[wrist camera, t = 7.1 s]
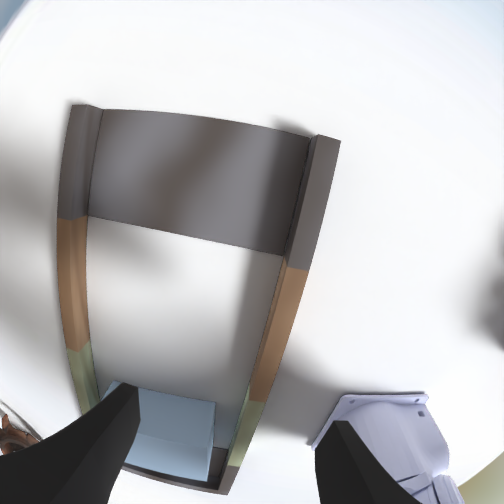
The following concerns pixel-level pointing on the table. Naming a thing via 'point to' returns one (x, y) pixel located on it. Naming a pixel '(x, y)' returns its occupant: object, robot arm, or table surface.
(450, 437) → the table surface
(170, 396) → the blue block
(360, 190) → the table surface
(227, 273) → the table surface
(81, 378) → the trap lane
